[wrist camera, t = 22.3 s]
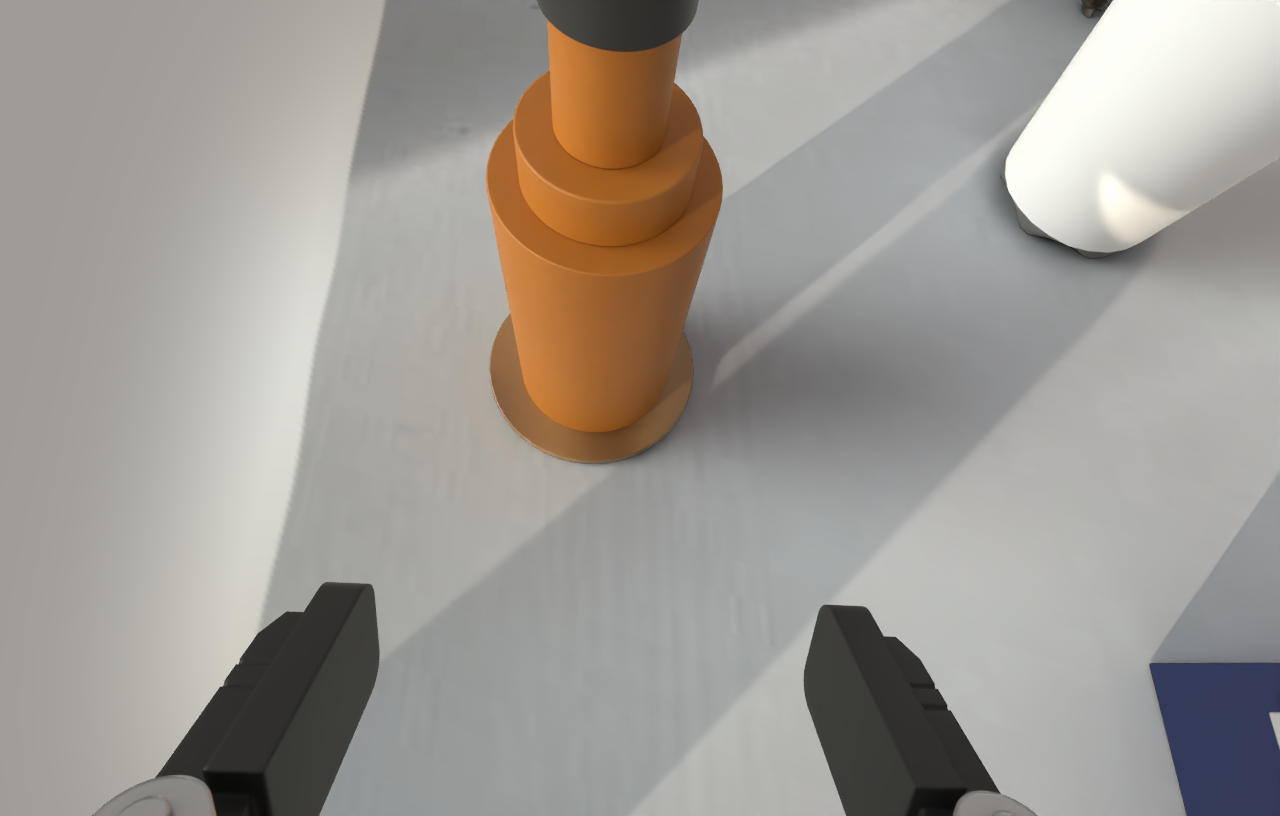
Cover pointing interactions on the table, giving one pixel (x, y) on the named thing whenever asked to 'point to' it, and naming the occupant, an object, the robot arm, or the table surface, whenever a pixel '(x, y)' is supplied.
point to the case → (1223, 735)
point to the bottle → (603, 210)
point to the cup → (1150, 121)
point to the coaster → (578, 443)
